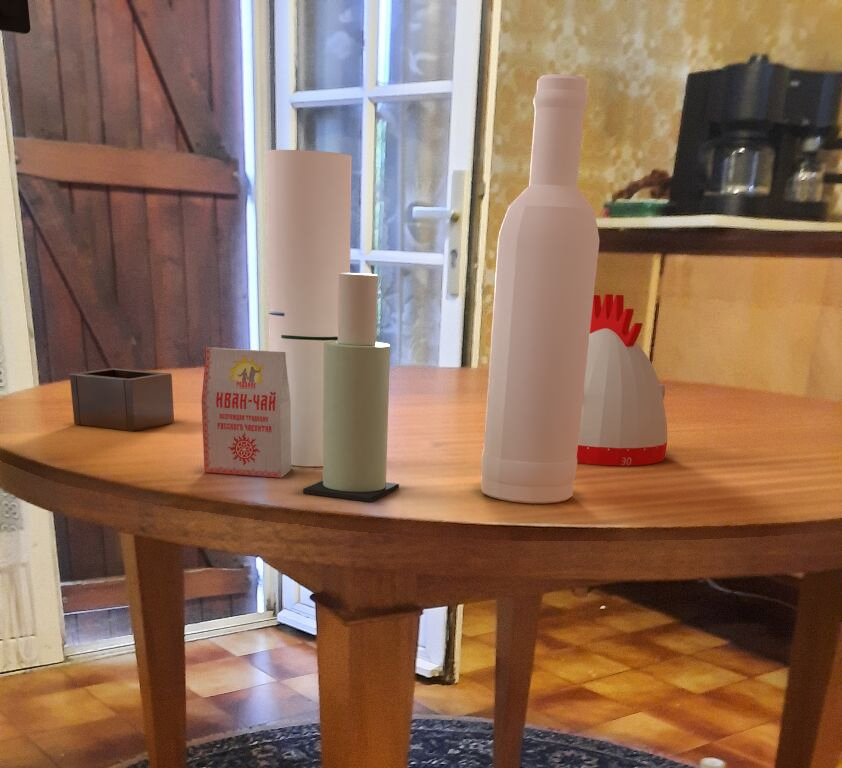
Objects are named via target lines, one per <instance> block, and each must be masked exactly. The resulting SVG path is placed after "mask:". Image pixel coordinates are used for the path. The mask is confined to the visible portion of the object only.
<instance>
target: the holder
mask: <svg viewBox="0 0 842 768" xmlns="http://www.w3.org/2000/svg"><path fill="white" fill-rule="evenodd" d="M69 381H70V394H71V402H72V404H71V405H72V413H73V414H72V415H73V424H74V425H76V426H86V427H94V428H102V429H109V430H110V429H111V430H119V431H120V430H121V431H128V432H139V431H144V430H147V429H151V428H155V427H160V426H164V425H169V424H173V423H175V413H174V410H175V409H174V392H173V376H172V373H170V372H159V371H148V370H139V369H130V368H129V369H127V368H117V367H110V368H103V369H102V368H101V369H96V370H89V371H88V370H87V371H80V372H74V373H69Z"/></svg>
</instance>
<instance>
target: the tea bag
mask: <svg viewBox="0 0 842 768" xmlns="http://www.w3.org/2000/svg"><path fill="white" fill-rule="evenodd" d="M204 350H205V351H204V369H203V371H204V372H203V381H202V390H201V391H202V393H201V419H202V421H201V423H202V443H203V465H204V466H203V467H204V468H203V469H204V473H208V474H222V475H236V476H251V477H264V478H275V479H276V478H279V479H281V478H283V477H284V476H286V475H287V474H288V473H289V472H290V471H291V470H292V465H291V399H290V391H289V384H288V376H287V367H286V354H285V352H276V351H269V350H259V349H241V348H227V347H225V348H224V347H209V346H206V347H205V348H204Z"/></svg>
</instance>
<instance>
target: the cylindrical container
mask: <svg viewBox="0 0 842 768" xmlns="http://www.w3.org/2000/svg"><path fill="white" fill-rule="evenodd" d="M352 157H353V156H352V154H346V153H340V152H334V151H333V152H331V151H323V150H321V151H320V150H307V149H306V150H304V149H268V150H265V192H266V193H265V194H266V197H265V199H266V202H265V203H266V249H267V250H266V253H267V254H266V255H267V256H266V257H267V258H266V259H267V260H266V262H267V263H266V264H267V311H269V312H268V351H276V352H285V354H286V367H287V376H288V384H289V391H290V399H291V466H296V467H312V468H313V467H323V376H324V342H327V341H338V274H339V273H351V240H352V239H351V232H352V231H351V229H352V227H351V226H352V167H353V166H352V164H353V163H352V162H353V161H352Z"/></svg>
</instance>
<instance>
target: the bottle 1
mask: <svg viewBox="0 0 842 768" xmlns="http://www.w3.org/2000/svg"><path fill="white" fill-rule="evenodd" d="M378 284H379V275H378V274H375V273H374V274H373V273H361V272H350V273H339V274H338V341H327V342H324V376H323V466H322V481H323V485H324V486H325V487H327V488H329V489H333V490H338V491H346V492H371V491H378V490H382V489H384V488H385V487H386V482H387V463H388V461H387V460H388V433H389V431H388V430H389V429H388V428H389V399H390V398H389V397H390V369H391V368H390V365H391V364H390V363H391V345H390V344H389V343H386V342H385V343H384V342H379V341H377V329H378V328H377V325H378V324H377V323H378V292H379V291H378V286H379V285H378Z"/></svg>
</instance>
